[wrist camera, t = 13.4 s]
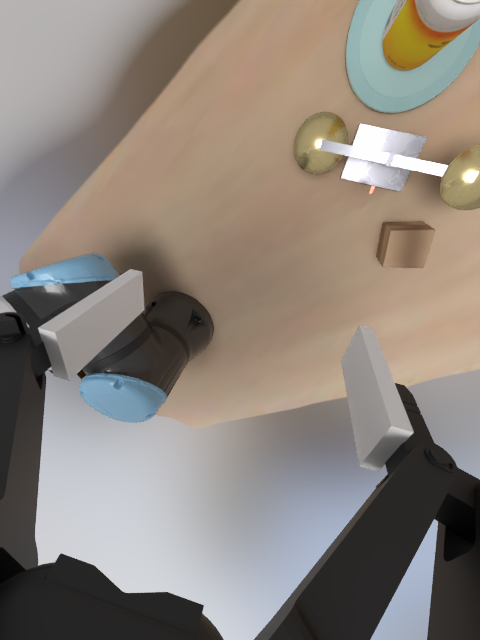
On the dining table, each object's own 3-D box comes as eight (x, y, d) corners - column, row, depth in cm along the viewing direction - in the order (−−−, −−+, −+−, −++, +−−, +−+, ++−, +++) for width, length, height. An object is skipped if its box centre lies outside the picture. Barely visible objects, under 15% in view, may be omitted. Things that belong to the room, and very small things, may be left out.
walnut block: (375, 255, 40) (382, 267, 36) (382, 222, 38) (390, 230, 34) (412, 256, 39) (423, 267, 35) (421, 221, 37) (435, 229, 32)
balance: (289, 171, 37) (283, 175, 30) (304, 112, 33) (301, 101, 26) (449, 207, 35) (484, 222, 28) (484, 150, 31) (535, 149, 24)
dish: (328, 101, 32) (328, 100, 31) (378, -73, 25) (381, -83, 24) (436, 123, 31) (440, 122, 30) (522, -53, 24) (533, -63, 22)
